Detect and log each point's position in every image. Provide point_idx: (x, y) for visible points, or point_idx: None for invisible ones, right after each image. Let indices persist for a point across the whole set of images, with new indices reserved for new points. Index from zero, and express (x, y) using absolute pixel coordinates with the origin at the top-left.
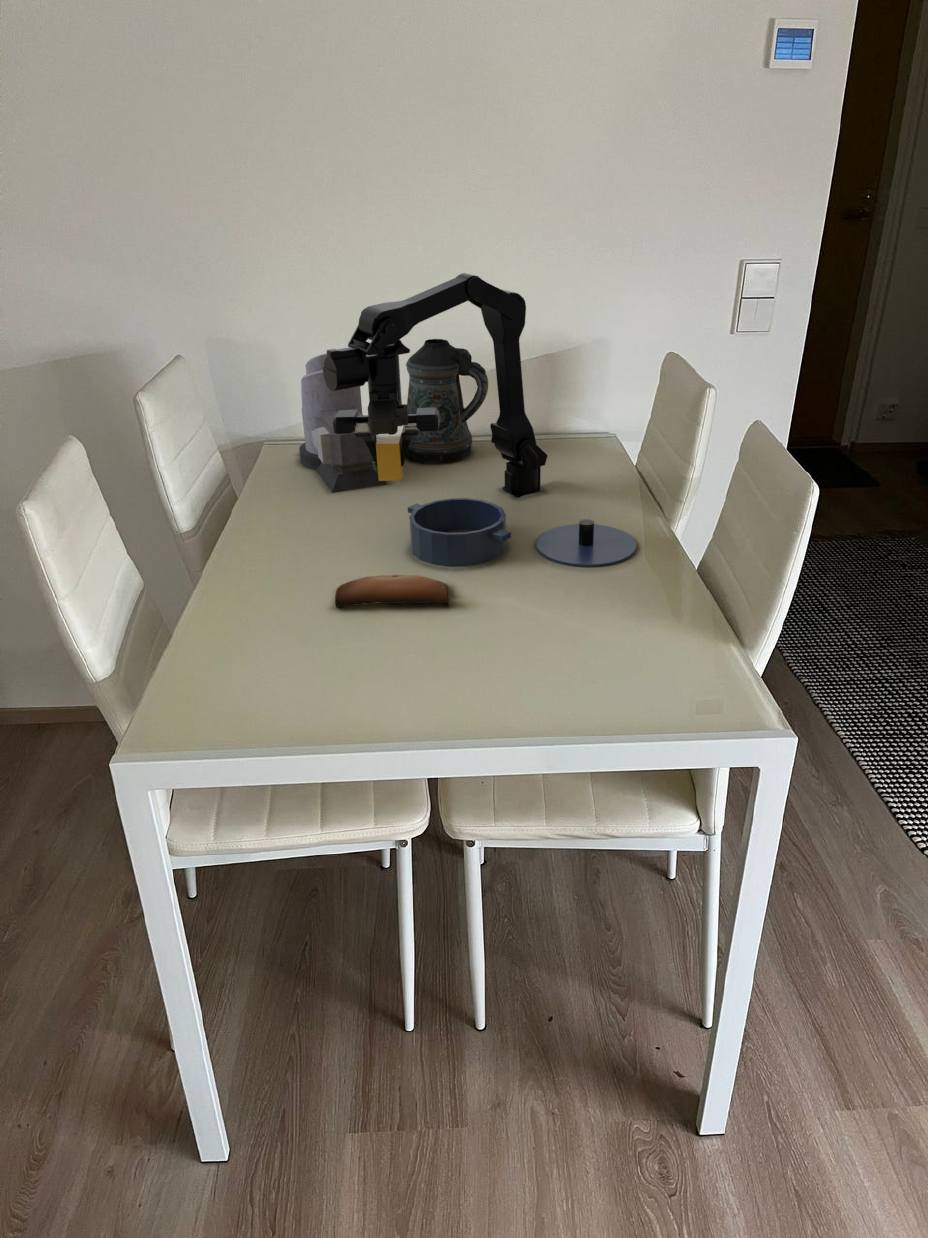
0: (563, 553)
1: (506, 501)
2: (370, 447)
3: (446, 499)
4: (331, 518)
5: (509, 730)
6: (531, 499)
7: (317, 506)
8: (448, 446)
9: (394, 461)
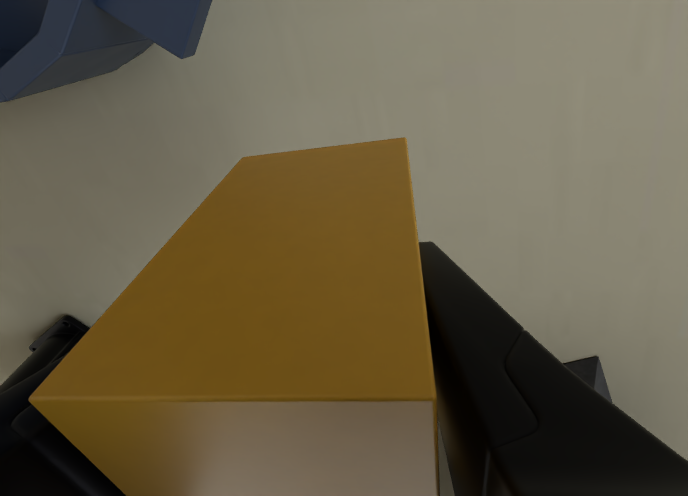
0: None
1: (90, 301)
2: (530, 370)
3: (16, 82)
4: (621, 166)
5: None
6: (39, 311)
7: (663, 267)
8: None
9: (230, 223)
